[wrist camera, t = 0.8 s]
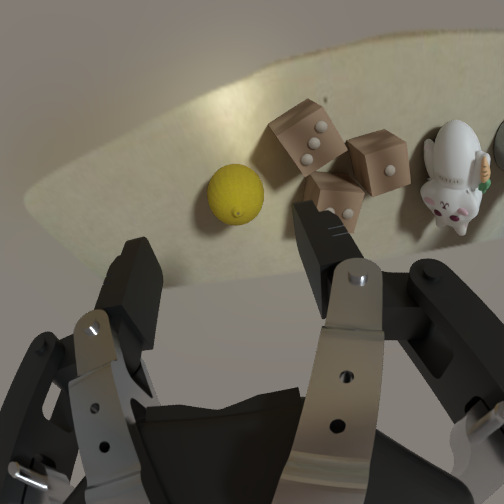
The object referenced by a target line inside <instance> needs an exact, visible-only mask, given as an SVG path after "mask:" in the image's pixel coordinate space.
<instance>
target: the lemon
mask: <svg viewBox="0 0 504 504" xmlns="http://www.w3.org/2000/svg"><path fill="white" fill-rule="evenodd" d="M207 198H208V203H209V206H210V208H211V210H212V212H213V214H214V215H215V216H216V217H217V218H218V219H219V220H220V221H222V222H224V223H226V224H229V225H243V224H246V223H248V222H250V221H252V220H253V219H254V218H255V217H256V216H257V215H258V213H259V212H260V210H261V208H262V205H263V202H264V189H263V185H262V182H261V180H260V178H259V177H258V175H257V174H256V173H255V172H254V171H253V170H252V169H250V168H248V167H247V166H244V165H240V164H231V165H226V166H224V167H222V168H220V169H219V170H218V171H217V172H215V174H214V175H213V176H212V178H211V179H210V182H209V185H208V189H207Z"/></svg>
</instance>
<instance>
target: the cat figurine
mask: <svg viewBox="0 0 504 504" xmlns="http://www.w3.org/2000/svg"><path fill="white" fill-rule="evenodd" d="M424 161H425V166H426V169H427V172H428V174H429V176H430V178H429V181H428V182H426V183H425V184H424V185H423V186H422V187H421V190H420V193H421V197H422V199H423V201H424V203H425V204H426V206H427V207H428V208H429V209H430V210H431V211H432V213H433V214H434V215H435V216H436V225H437V226H438V227H439V228H443V227H445V226H446V225H449V226H451V227H453V228H454V230H455V231H456V232H457V234H458V235H460V236H464V235H465V234H466V229H467V226H468V223H469V222H470V221H471V220H472V219H473V218H475V217H476V216H477V214H478V212H479V206H480V203H481V199H482V193H483V194H484V189H485V193H486V189H488V188H489V187H490V184H491V181H490V178H489V177H490V173H491V172H490V167H489V166H490V156H489V154H488V153H485V152H483V151H481V148H480V144H479V141H478V138H477V136H476V134H475V133H474V131H473V130H472V129H471V127H470V126H468V125H467V124H466V123H464V122H462V121H460V120H451V121H449V122H447V123H445V124H444V125H443V126H442V127H441V129H440V130H439V132H438V134H437V137H436V139H435V143H434V142H433V141H432V140H431V139H427V140H425V141H424Z"/></svg>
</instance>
